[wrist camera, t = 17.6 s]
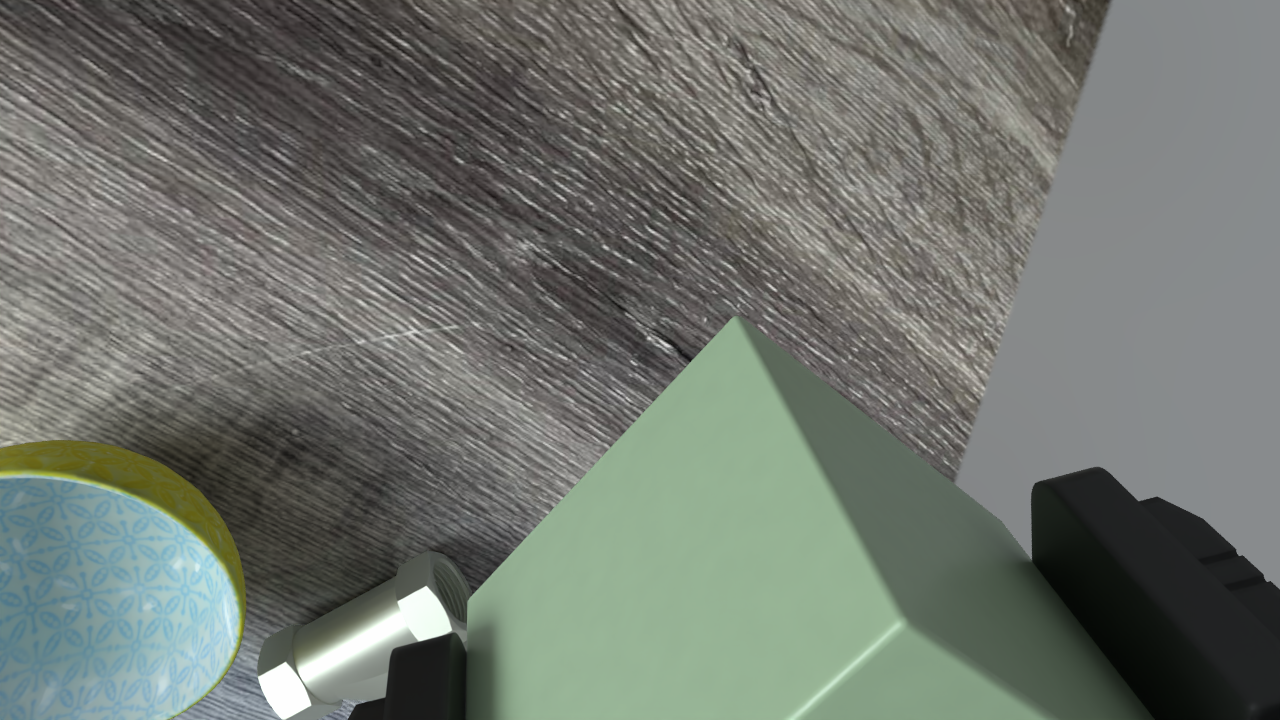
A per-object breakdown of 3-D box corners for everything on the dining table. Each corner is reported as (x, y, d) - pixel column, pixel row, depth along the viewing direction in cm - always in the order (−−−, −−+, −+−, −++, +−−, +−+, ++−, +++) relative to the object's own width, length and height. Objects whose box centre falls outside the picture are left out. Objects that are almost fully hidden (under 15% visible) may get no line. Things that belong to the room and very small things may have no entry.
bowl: (260, 635, 41) (226, 756, 35) (-51, 604, 38) (-141, 731, 32) (292, 402, 36) (258, 500, 30) (-60, 347, 33) (-167, 445, 28)
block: (735, 310, 11) (907, 618, 7) (1002, 520, 13) (1270, 863, 9) (464, 599, 12) (455, 1018, 8) (744, 749, 14) (862, 1149, 10)
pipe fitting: (518, 627, 43) (429, 532, 39) (525, 698, 40) (429, 602, 36) (365, 708, 44) (265, 622, 40) (360, 784, 40) (250, 699, 37)
